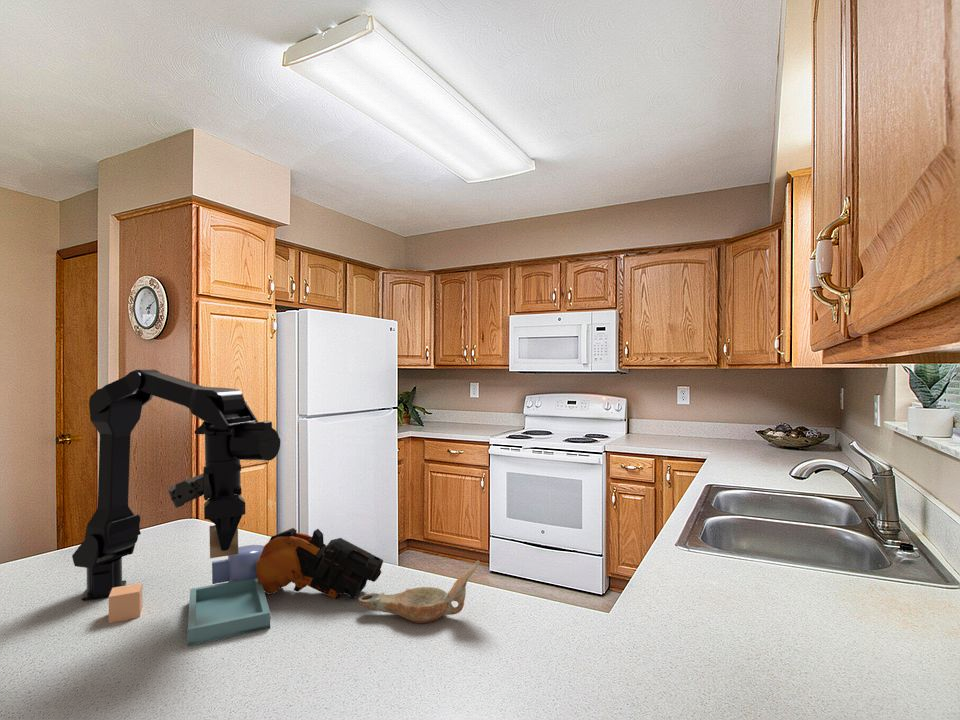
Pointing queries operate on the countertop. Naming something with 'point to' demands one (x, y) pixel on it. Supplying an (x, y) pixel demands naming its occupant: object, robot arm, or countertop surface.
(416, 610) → the oil lamp
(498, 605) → the countertop surface
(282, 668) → the countertop surface
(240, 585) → the tray
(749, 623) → the countertop surface
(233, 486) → the robot arm
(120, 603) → the block terracotta
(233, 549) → the block walnut
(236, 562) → the mug
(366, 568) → the tool
